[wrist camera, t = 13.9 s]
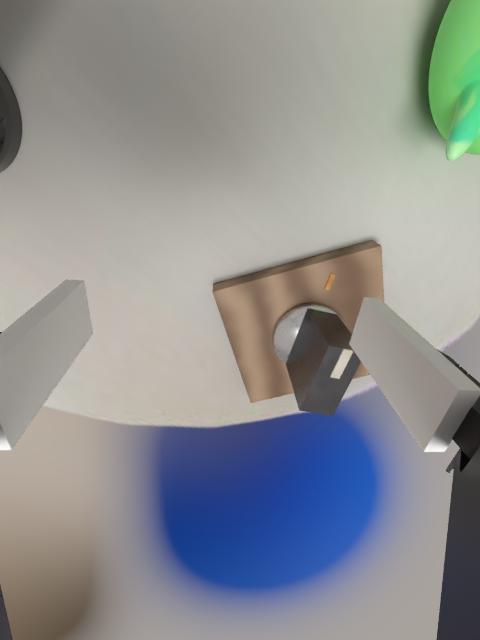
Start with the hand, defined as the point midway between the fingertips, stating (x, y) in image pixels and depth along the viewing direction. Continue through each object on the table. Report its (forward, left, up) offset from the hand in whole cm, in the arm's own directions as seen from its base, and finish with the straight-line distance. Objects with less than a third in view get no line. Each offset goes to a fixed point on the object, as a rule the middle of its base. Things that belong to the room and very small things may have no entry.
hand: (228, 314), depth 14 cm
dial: (+7, -20, -27) cm, 34 cm away
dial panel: (+7, -20, -30) cm, 37 cm away
